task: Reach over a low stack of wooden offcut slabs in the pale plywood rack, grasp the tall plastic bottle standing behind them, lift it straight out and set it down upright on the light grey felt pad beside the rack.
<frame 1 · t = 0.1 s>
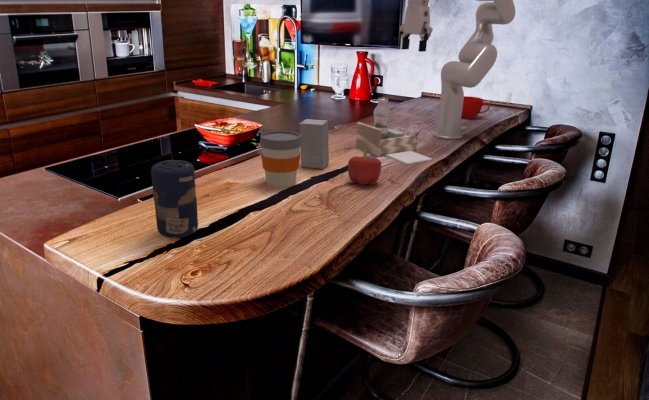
hand: (413, 50, 189), 37 cm above the breakfast bar, tool pointing down, fingers open, 9 cm apart
ceramic cup: (471, 118, 252), on the breakfast bar
pad: (408, 158, 182), on the breakfast bar
rack: (387, 148, 193), on the breakfast bar
vegetable: (363, 183, 155), on the breakfast bar
reusable coffee cup: (281, 183, 153), on the breakfast bar
canister: (178, 232, 118), on the breakfast bar
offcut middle: (392, 142, 194), point 2 cm above the breakfast bar, touching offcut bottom, offcut top
skincare box: (314, 166, 170), on the breakfast bar
offcut top: (394, 137, 193), point 4 cm above the breakfast bar, touching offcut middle
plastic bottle: (379, 150, 191), on the breakfast bar
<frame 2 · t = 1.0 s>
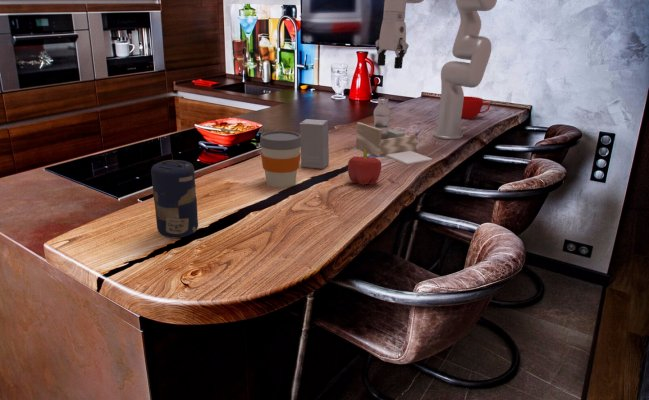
hand: (389, 67, 181), 31 cm above the breakfast bar, tool pointing down, fingers open, 9 cm apart
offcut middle: (392, 143, 194), point 2 cm above the breakfast bar, touching offcut top
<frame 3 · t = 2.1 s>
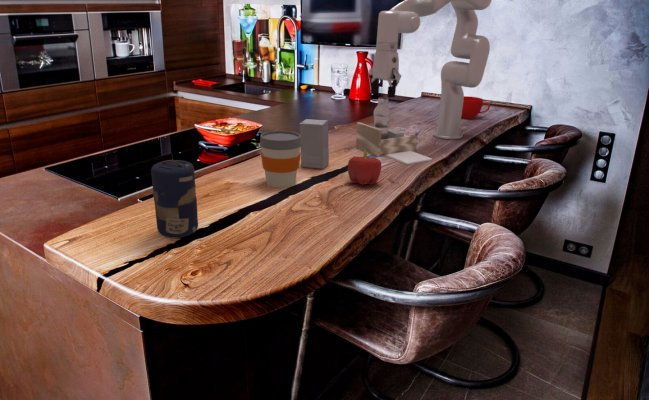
hand: (382, 95, 183), 21 cm above the breakfast bar, tool pointing down, fingers open, 9 cm apart
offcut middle: (392, 143, 194), point 2 cm above the breakfast bar, touching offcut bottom, offcut top
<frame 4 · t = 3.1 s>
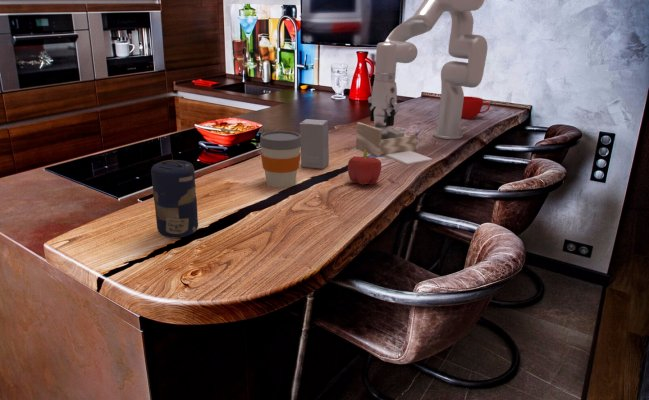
hand: (381, 123, 187), 10 cm above the breakfast bar, tool pointing down, fingers open, 9 cm apart
nothing on the breakfast bar moved.
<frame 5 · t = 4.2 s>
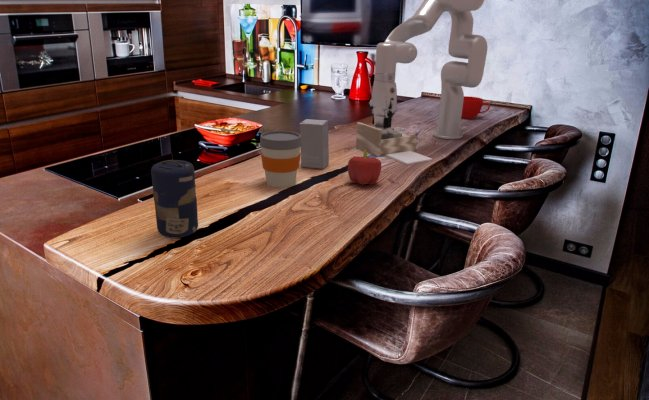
hand: (381, 125, 188), 10 cm above the breakfast bar, tool pointing down, fingers closed on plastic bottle, 6 cm apart
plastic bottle: (379, 150, 191), on the breakfast bar, touching gripper
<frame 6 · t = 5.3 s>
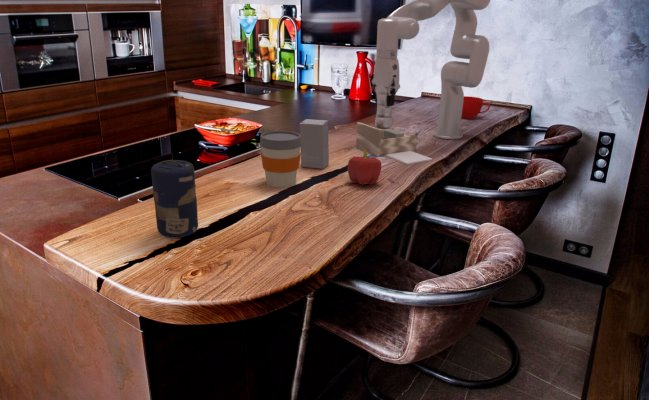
hand: (384, 103, 185), 18 cm above the breakfast bar, tool pointing down, fingers closed on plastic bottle, 6 cm apart
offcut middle: (392, 143, 194), point 2 cm above the breakfast bar
offcut top: (393, 137, 193), point 4 cm above the breakfast bar
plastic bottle: (383, 129, 189), point 8 cm above the breakfast bar, touching gripper
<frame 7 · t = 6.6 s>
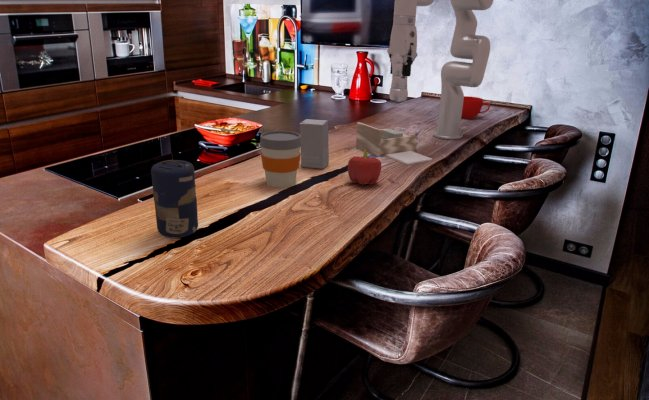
hand: (400, 74, 176), 29 cm above the breakfast bar, tool pointing down, fingers closed on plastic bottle, 6 cm apart
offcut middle: (391, 143, 193), point 2 cm above the breakfast bar, touching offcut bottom, offcut top
offcut top: (392, 137, 193), point 4 cm above the breakfast bar, touching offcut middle
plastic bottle: (397, 102, 179), point 20 cm above the breakfast bar, touching gripper
when the fingers open (11 cm above the breakfast bar, at t = 11.3 s): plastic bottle drops 1 cm, resting on pad.
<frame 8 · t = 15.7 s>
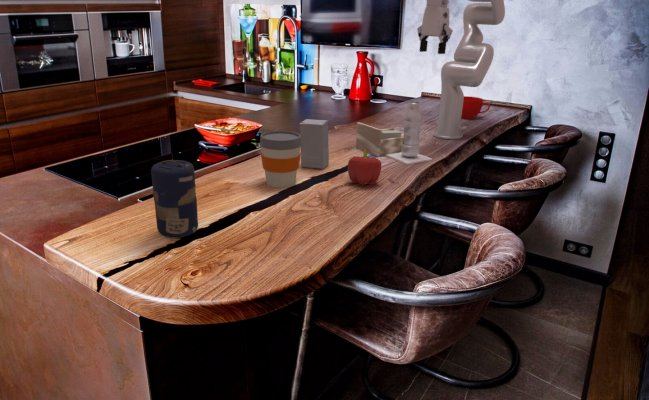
hand: (432, 52, 184), 36 cm above the breakfast bar, tool pointing down, fingers open, 9 cm apart
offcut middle: (390, 143, 193), point 2 cm above the breakfast bar, touching offcut top
offcut top: (390, 137, 192), point 4 cm above the breakfast bar, touching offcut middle
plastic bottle: (409, 157, 181), resting on pad
at the end: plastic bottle inside the target area on the pad (0.1 cm from its centre), point 0.4 cm above the pad's base; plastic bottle tilted 0°; the gripper is holding nothing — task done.
